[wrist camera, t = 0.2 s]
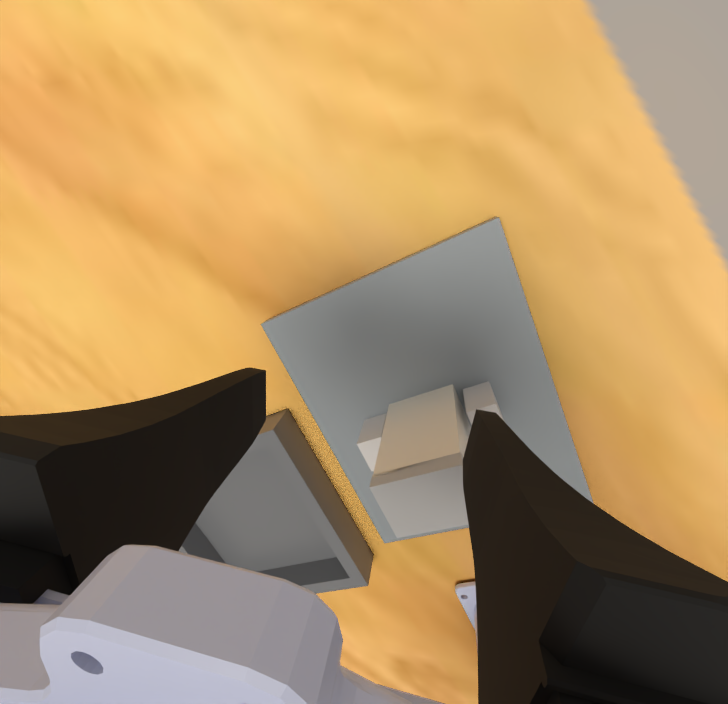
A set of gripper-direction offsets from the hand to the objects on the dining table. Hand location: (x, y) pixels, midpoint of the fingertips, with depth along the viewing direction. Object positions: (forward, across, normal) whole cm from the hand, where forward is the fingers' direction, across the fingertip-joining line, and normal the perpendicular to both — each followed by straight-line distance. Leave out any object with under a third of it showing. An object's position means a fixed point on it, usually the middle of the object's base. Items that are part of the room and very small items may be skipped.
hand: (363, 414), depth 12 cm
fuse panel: (+10, -3, +5) cm, 11 cm away
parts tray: (+10, +9, +16) cm, 21 cm away
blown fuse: (+9, -3, +5) cm, 10 cm away
